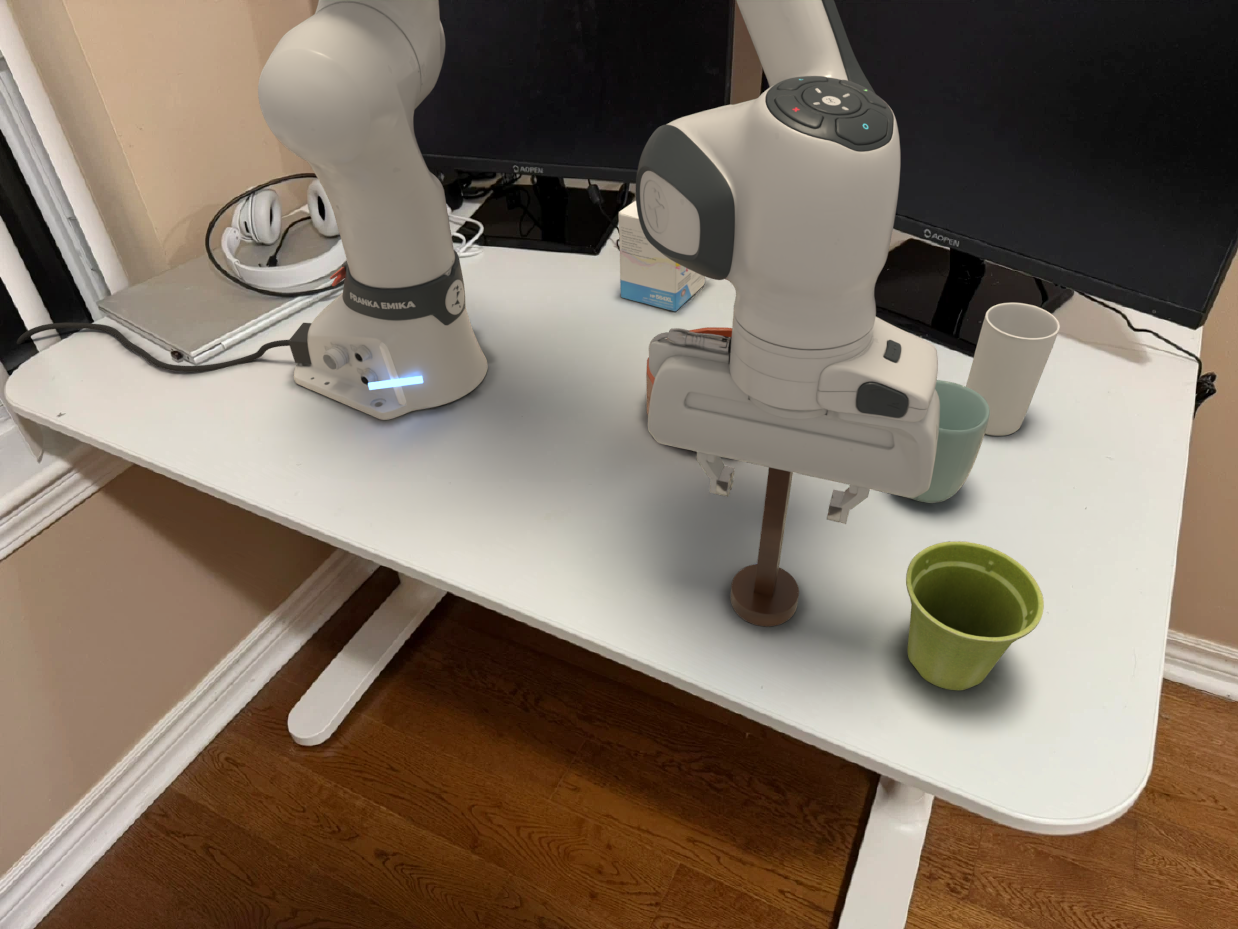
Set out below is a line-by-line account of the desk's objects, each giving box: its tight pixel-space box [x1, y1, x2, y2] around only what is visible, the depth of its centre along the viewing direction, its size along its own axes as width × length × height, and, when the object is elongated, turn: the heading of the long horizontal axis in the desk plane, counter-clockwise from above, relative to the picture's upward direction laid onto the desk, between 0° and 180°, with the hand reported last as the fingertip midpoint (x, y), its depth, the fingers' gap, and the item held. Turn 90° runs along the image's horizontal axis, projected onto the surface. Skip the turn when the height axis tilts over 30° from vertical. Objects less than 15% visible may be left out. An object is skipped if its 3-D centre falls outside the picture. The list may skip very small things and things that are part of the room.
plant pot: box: [905, 540, 1045, 691], centre depth 64 cm, size 9×9×9 cm
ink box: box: [618, 200, 706, 312], centre depth 107 cm, size 9×8×13 cm
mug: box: [965, 302, 1061, 437], centre depth 87 cm, size 10×7×12 cm, turn 145°
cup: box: [910, 379, 990, 504], centre depth 79 cm, size 8×8×10 cm
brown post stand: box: [729, 467, 800, 627], centre depth 66 cm, size 6×6×18 cm
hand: (778, 503), depth 64 cm, fingers open, 8 cm apart
